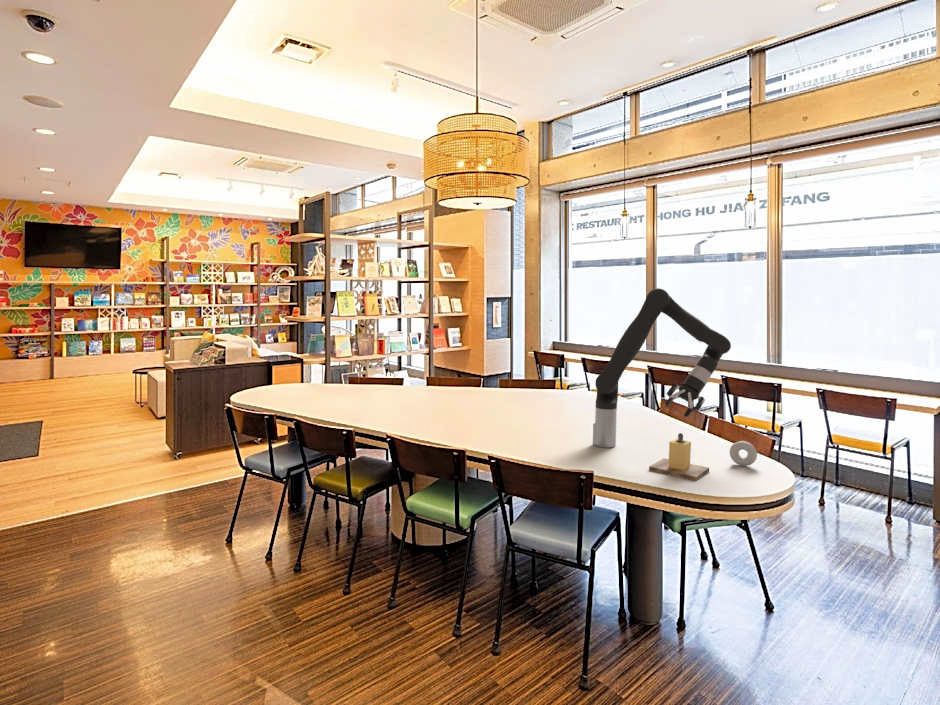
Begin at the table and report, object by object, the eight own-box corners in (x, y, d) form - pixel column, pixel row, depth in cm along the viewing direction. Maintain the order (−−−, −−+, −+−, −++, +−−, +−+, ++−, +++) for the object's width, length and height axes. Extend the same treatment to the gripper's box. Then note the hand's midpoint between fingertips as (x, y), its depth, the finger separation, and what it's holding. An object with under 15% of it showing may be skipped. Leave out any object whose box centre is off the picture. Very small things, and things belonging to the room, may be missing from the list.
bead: (668, 467, 216) (669, 441, 215) (674, 463, 220) (675, 438, 219) (683, 470, 212) (685, 444, 211) (689, 466, 216) (691, 441, 215)
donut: (757, 467, 221) (758, 442, 220) (755, 469, 218) (757, 444, 217) (729, 462, 227) (731, 438, 226) (727, 464, 224) (729, 440, 223)
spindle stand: (648, 470, 217) (650, 432, 215) (663, 461, 227) (665, 425, 226) (695, 480, 205) (697, 441, 203) (709, 471, 215) (711, 433, 214)
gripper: (680, 368, 232) (658, 400, 232) (711, 383, 223) (688, 417, 222) (684, 375, 238) (663, 406, 237) (715, 390, 228) (693, 423, 228)
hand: (675, 411), depth 230 cm, fingers open, 8 cm apart
